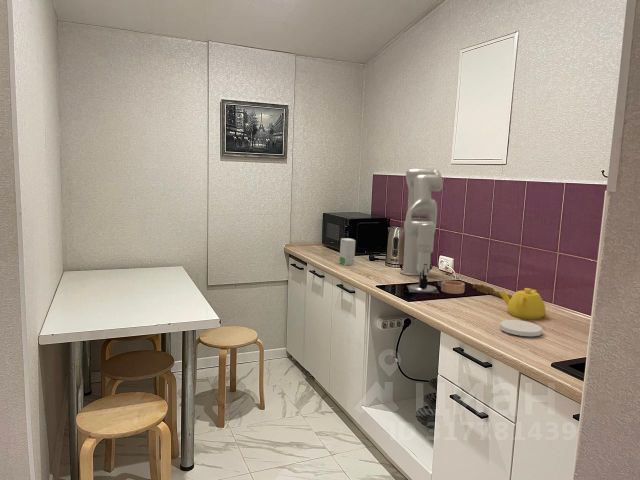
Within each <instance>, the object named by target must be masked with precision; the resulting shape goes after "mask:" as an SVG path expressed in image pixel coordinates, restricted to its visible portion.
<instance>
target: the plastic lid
mask: <svg viewBox="0 0 640 480" xmlns="http://www.w3.org/2000/svg"><path fill="white" fill-rule="evenodd" d="M499 329H500V330H501V331H503V332H504V333H508V334H511V335H516V336H521V337H538V336H541V335H542V334H543V327H542V326H541V325H538V324H536V323H534V322H530V321H525V320H520V319H519V320H518V319H517V320H516V319H515V320H514V319H508V320H506V319H505V320H502V321H500V323H499Z"/></svg>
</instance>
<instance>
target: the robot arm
mask: <svg viewBox="0 0 640 480" xmlns="http://www.w3.org/2000/svg"><path fill="white" fill-rule="evenodd" d="M405 180H406V184H407V185H406V186H407V187H408V197H407V198H408V200H407V211H406V214H405V220H404V222H403V230H404V248H403V249H404V251H403V265H402V268H403V269H401V270H400V271H399V273H400V274H401V275H405V276H411V277H412V276H415V277H416V276H419V279H418V281H419V280H420V287H427V285H428V274H429V273H430V271H431V255H432V253H434V242H435V233H436V229H437V218H438V204H437V201H436V200H435V199H432V192H440V191H442V189H443V187H444V185H443V184H444V181H443V177H442V174H441V172H440V171H439V169H437V168H422V167H415V168H414V167H413V168H408V169H407V170H406V172H405ZM413 216H416V217H413ZM423 217H427V218H423ZM420 277H421V279H420Z"/></svg>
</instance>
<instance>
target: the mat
mask: <svg viewBox="0 0 640 480" xmlns="http://www.w3.org/2000/svg"><path fill="white" fill-rule="evenodd" d="M410 285H411V284H409V285H406V287H407V289H408V291H409V293H419V292H418V291H413V290H411V289H409V286H410ZM434 287H436V286H434ZM420 293H423V294H424V293H426V294H427V293H428V294H440V291H439V290H438V289H437V290H436V291H435V292H420Z"/></svg>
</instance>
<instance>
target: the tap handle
mask: <svg viewBox="0 0 640 480" xmlns="http://www.w3.org/2000/svg"><path fill="white" fill-rule="evenodd" d="M472 289H474V290H476V292H479V291H480V292H479V293H482V292H483V293H482V294H485V293H486V295H490V294H491V296H495V297H496V298H497V297H498V298H500V299H502V300H504V299H503V298H502V296H501V295H500V292H501V291H497V290H495V289H494V288H493V287H490V286H487V285H484V284H479V283H474V284H473V285H472ZM506 294H507V293H506ZM507 295H508V297H509V298H510V299H511V298H512V296H513V295H512V294H507Z"/></svg>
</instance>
